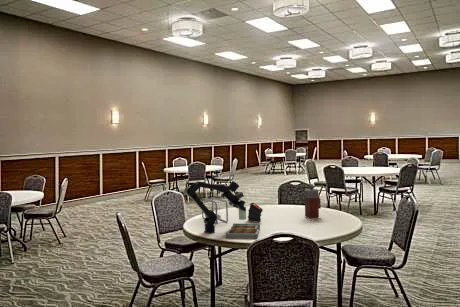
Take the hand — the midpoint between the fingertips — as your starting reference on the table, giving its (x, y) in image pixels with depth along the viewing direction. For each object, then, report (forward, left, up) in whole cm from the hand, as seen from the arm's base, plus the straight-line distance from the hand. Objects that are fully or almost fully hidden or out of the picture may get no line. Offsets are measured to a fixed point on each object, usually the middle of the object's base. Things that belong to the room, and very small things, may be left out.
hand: (244, 210), depth 302 cm
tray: (-5, -14, -13) cm, 20 cm away
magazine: (+17, +18, -14) cm, 28 cm away
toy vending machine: (+68, +13, -14) cm, 70 cm away
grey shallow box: (-10, -23, -13) cm, 29 cm away
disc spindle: (-1, 0, -7) cm, 7 cm away
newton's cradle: (-12, +36, -14) cm, 41 cm away
